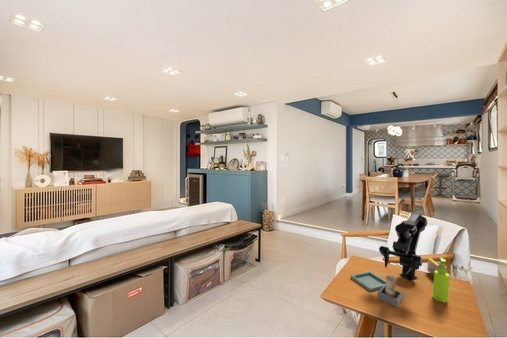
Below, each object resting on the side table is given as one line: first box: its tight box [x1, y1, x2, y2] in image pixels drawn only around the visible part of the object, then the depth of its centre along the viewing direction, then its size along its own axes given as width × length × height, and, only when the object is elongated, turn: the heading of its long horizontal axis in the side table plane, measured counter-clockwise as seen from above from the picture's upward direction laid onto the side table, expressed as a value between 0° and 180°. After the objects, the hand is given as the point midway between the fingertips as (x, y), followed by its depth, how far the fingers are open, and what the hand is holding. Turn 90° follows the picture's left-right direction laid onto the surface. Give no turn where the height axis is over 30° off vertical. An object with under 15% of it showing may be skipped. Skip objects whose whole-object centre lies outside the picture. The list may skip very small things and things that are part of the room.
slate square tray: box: [376, 286, 404, 308], centre depth 116 cm, size 9×9×4 cm
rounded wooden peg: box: [385, 274, 397, 298], centre depth 116 cm, size 4×4×11 cm
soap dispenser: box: [432, 256, 451, 303], centre depth 117 cm, size 6×7×20 cm
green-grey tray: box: [350, 270, 386, 292], centre depth 131 cm, size 14×14×2 cm
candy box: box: [426, 257, 439, 277], centre depth 138 cm, size 16×2×8 cm, turn 168°
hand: (395, 270), depth 120 cm, fingers open, 9 cm apart
